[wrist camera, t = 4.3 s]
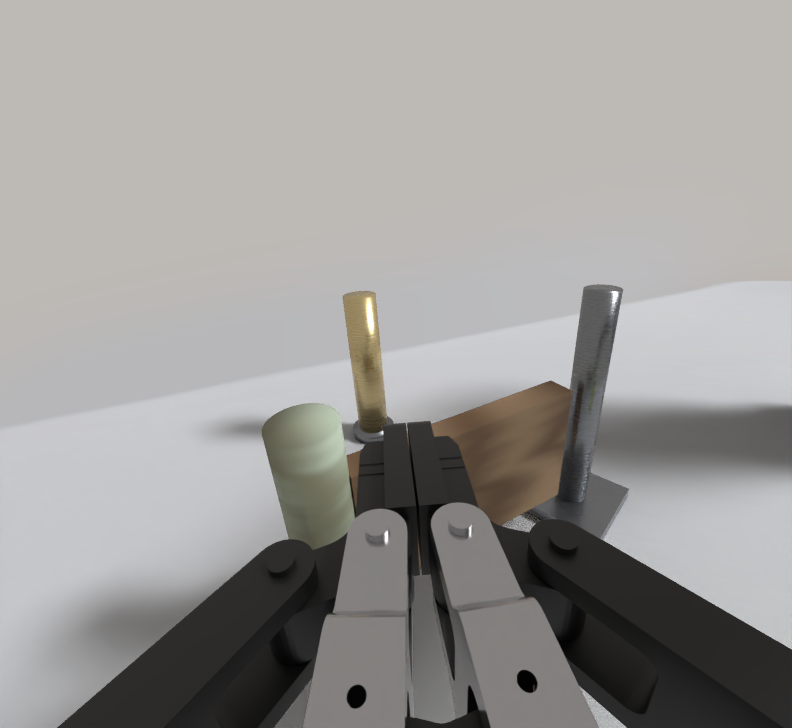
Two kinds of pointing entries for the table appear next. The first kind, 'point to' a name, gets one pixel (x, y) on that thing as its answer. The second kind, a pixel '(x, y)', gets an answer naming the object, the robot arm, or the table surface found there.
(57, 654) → the table surface
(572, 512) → the hinge post
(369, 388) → the post
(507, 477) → the gate
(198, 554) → the table surface
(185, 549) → the table surface
